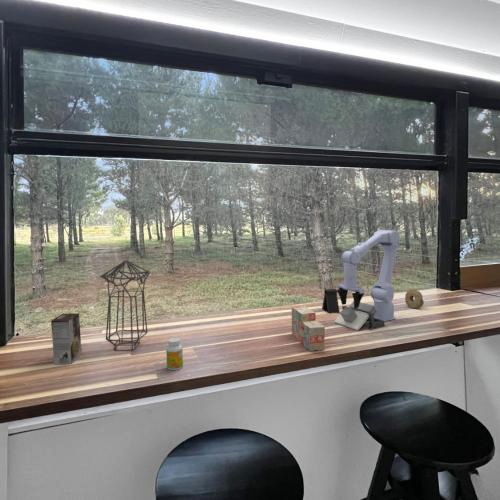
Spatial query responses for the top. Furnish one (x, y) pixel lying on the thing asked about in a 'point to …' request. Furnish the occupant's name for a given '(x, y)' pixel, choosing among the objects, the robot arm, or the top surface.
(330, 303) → the phone stand
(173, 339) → the supplement bottle
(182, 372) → the top surface
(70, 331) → the coffee box
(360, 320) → the trapdoor
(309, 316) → the stack of blocks
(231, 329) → the top surface
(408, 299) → the stone disc
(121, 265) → the geometric lantern
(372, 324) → the frame
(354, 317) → the stone block
